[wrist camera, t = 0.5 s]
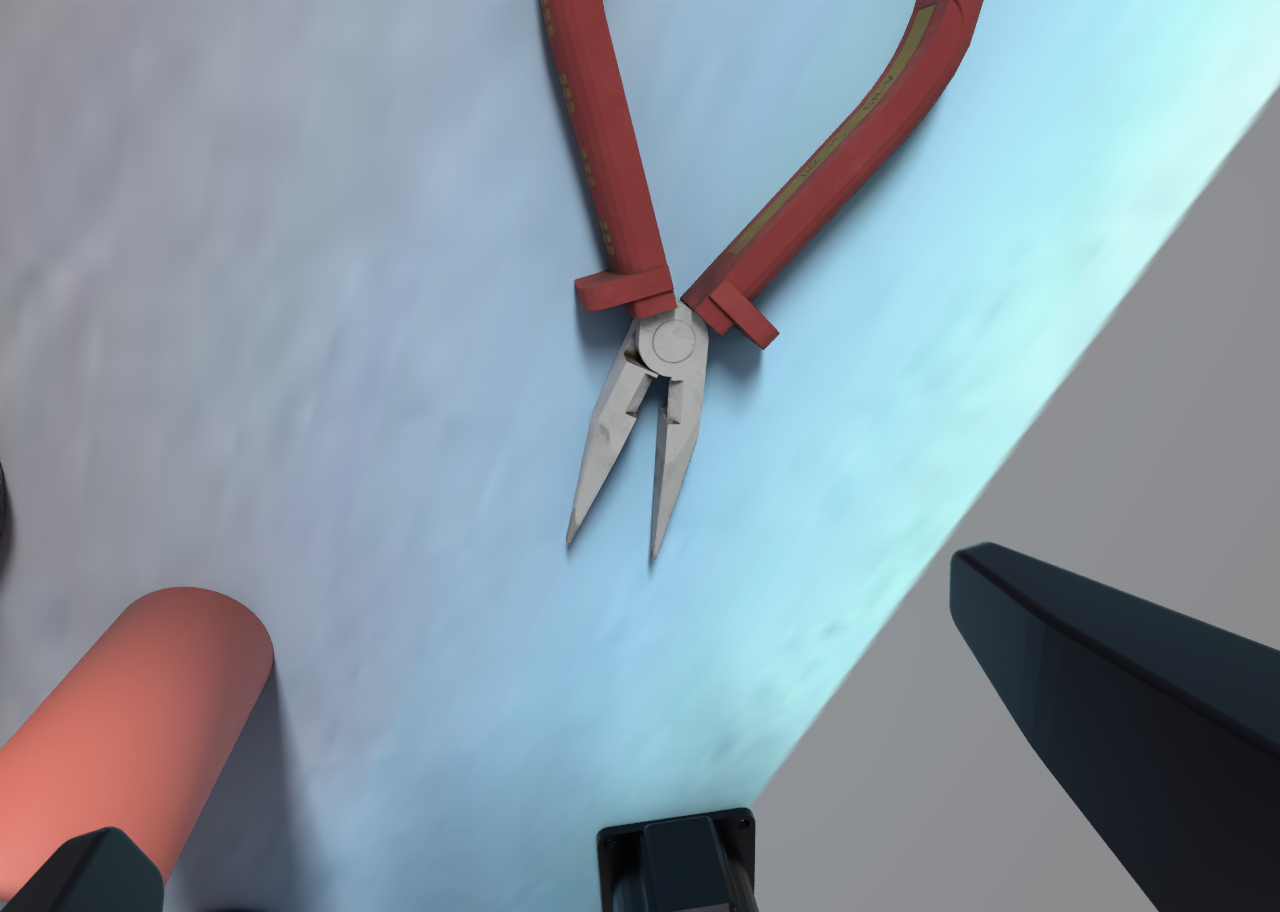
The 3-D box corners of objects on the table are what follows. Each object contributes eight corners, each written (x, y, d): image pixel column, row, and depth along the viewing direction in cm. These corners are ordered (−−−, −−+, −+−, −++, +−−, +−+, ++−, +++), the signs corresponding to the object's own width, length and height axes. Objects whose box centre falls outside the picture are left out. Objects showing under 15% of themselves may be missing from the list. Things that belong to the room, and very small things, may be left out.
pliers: (432, 504, 25) (422, 542, 23) (567, -272, 18) (575, -340, 16) (765, 557, 28) (790, 597, 25) (990, -104, 21) (1054, -140, 19)
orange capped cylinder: (305, 712, 27) (139, 1128, 15) (124, 734, 26) (-191, 1186, 15) (267, 564, 25) (40, 920, 13) (69, 584, 24) (-354, 977, 12)
